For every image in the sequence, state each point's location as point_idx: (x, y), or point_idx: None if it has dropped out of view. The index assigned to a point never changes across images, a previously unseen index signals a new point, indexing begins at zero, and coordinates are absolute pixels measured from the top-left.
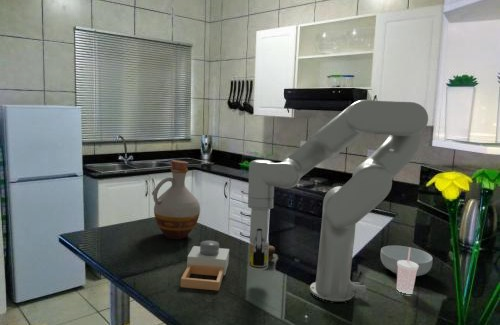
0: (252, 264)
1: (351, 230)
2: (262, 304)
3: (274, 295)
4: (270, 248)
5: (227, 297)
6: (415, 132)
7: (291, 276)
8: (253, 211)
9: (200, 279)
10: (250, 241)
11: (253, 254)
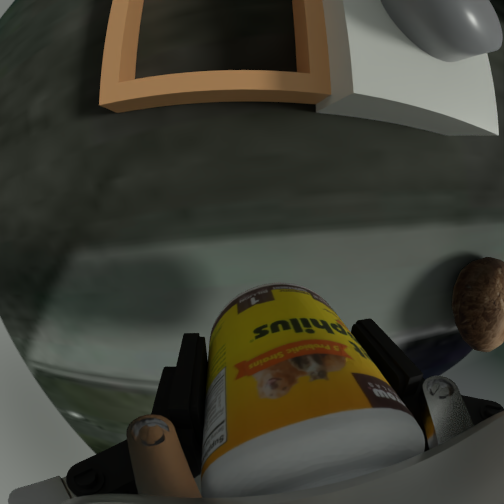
0: (223, 319)
1: None
2: (66, 316)
3: (152, 359)
4: (489, 342)
5: (66, 170)
6: None
7: None
8: None
9: (120, 12)
10: (65, 502)
11: (172, 391)
